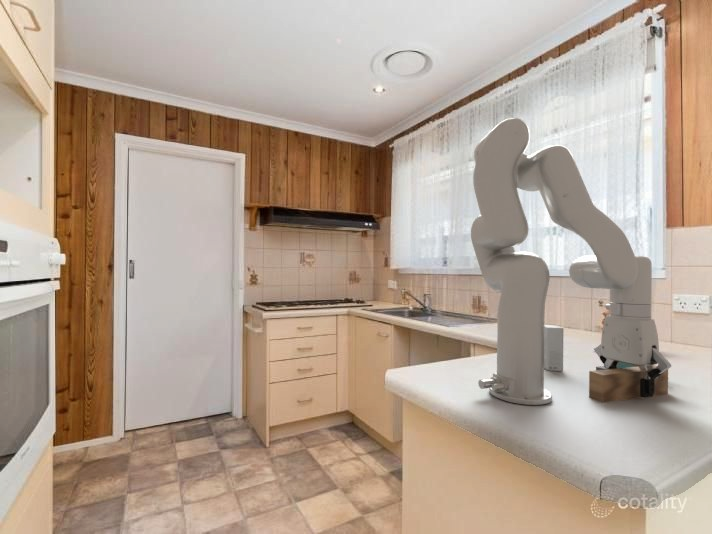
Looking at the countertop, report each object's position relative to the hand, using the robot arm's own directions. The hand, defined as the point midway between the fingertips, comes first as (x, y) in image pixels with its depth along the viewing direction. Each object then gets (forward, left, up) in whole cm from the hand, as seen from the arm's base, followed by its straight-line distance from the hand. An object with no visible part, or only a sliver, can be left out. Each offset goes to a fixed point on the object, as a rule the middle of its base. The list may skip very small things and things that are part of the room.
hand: (629, 390), depth 82 cm
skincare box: (+2, +23, -1) cm, 23 cm away
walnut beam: (0, 0, -1) cm, 1 cm away
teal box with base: (+16, +12, -1) cm, 20 cm away
